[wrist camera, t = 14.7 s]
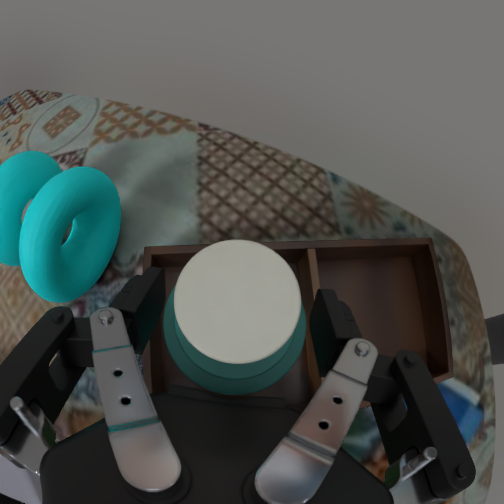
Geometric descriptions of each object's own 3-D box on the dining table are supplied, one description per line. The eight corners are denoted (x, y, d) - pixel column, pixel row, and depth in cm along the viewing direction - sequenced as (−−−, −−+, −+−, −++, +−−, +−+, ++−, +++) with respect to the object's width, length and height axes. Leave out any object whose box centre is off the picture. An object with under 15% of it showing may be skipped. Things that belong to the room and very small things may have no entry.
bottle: (264, 303, 21) (340, 184, 6) (269, 370, 19) (373, 409, 4) (197, 306, 20) (123, 189, 6) (200, 373, 18) (115, 426, 4)
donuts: (90, 319, 20) (12, 290, 10) (22, 272, 20) (-44, 231, 11) (140, 216, 23) (99, 140, 14) (68, 187, 24) (22, 124, 14)
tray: (410, 252, 24) (431, 237, 20) (428, 376, 20) (453, 376, 16) (156, 262, 22) (144, 246, 18) (160, 415, 18) (147, 425, 14)
